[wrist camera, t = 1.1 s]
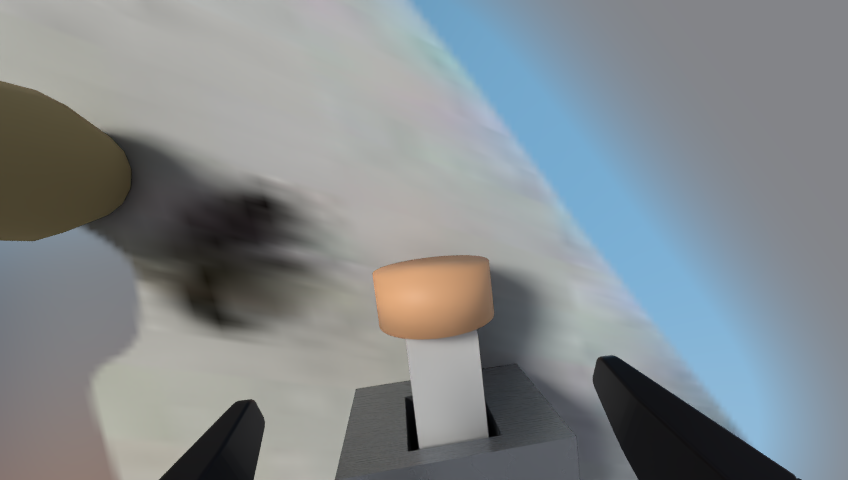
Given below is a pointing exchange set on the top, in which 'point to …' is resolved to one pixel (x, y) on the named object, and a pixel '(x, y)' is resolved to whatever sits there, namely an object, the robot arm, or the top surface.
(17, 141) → the squeeze bottle
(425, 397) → the white and tan bar
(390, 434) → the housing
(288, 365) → the top surface
